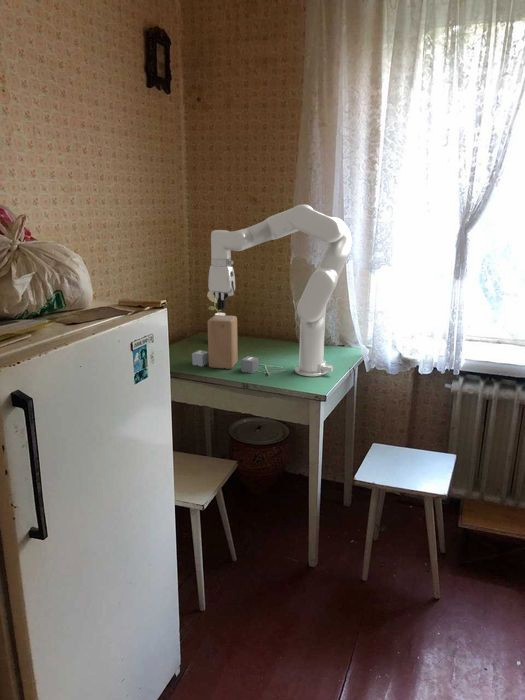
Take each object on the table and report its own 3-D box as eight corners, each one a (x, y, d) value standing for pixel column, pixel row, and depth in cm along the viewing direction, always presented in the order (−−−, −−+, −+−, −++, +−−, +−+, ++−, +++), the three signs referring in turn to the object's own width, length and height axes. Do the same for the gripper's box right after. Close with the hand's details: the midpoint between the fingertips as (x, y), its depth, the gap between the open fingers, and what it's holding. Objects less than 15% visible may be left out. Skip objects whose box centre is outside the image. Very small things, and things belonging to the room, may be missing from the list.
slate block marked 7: (209, 363, 217) (209, 351, 215) (202, 366, 213) (202, 354, 211) (199, 361, 219) (198, 349, 217) (192, 365, 215) (192, 352, 213)
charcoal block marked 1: (258, 370, 209) (258, 357, 207) (252, 373, 205) (252, 361, 203) (247, 368, 211) (247, 355, 210) (241, 371, 207) (241, 359, 205)
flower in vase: (237, 341, 249) (236, 289, 242) (223, 347, 240) (222, 293, 233) (215, 337, 256) (214, 286, 249) (201, 342, 246) (199, 290, 239)
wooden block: (232, 369, 209) (231, 321, 203) (208, 368, 211) (206, 319, 205) (238, 362, 218) (237, 315, 212) (215, 360, 220) (214, 314, 214)
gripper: (242, 263, 202) (242, 309, 208) (210, 260, 209) (210, 305, 214) (232, 265, 196) (232, 313, 201) (199, 262, 202) (200, 308, 208)
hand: (221, 309), depth 208 cm, fingers closed
